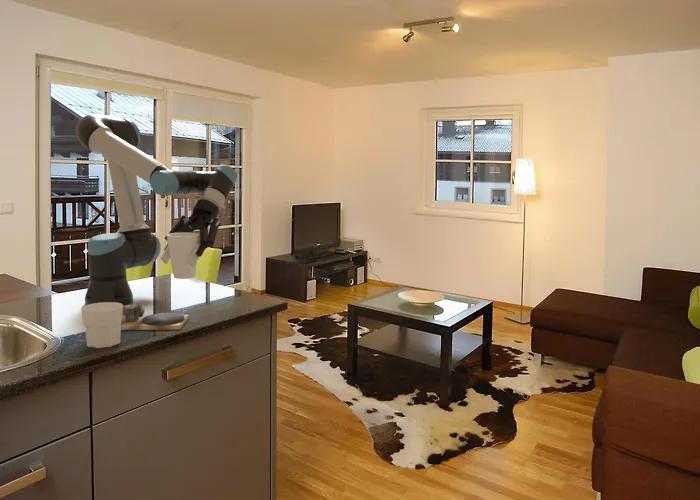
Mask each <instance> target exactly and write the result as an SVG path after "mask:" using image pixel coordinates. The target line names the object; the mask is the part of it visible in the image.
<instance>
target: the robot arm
mask: <svg viewBox="0 0 700 500" xmlns="http://www.w3.org/2000/svg"><path fill="white" fill-rule="evenodd" d="M75 134H76V138H77V140H78V142H79V143H80V144H81V145H82V146H83V147H84V148H85V149H87V150H89V152H90V151H91V152H92V153H94V154H96V155H99V154H100V155H101V157H102V158H104V159H105V160H106V161H107V164H108V168H109V169H108V170H109V175H110V181H111V185H112V191H113V196H114V197H113V198H114V201H115V207H116V213H117V216H118V217H117V218H118V225H119V228H118V229H117V231H116V232H110V233H102V234H97V235H94V236H92V237H90V238H89V240H88V243H87V258H88V261H87V262H88V275H89V282H88V286H87V290H86V293H85V296H84V304H85V305H89V304H94V303H103V302H115V303H121V304H122V305H123V306H127V305H128V304H129V305H130V304H131V303H133V301H134V295H133V292H132V289H131V287H130V285H129V282H128V280H127V279H128V278H127V277H128V276H127V270H128V269H133V268H138V267H144V266H145V267H146V266H147V265H151V264H153V263H154V262H156V260H157V259H158V257H159V256H160V253H161V241H160V238H159V237H158V236H157V235H156V234H155V233H152V229H151V226H149V225H148V224H147V223H146V222H145V215H144V209H143V204H142V199H141V193H140V188H139V184H138V178H139V179H142V180H144V181H145V182H146V183H148V184H150V188H151V189H152V191H153V192H154V193H155V194H156V195H159V196H168V197H169V196H173V195H175V196H176V195H197V194H199V195H200V196H199V198H198V200H196V201H197V202H196V203H195V205H194V207H193V209H192V214H191V215H190V216H185V215H183V214H182V216H181V217H180V219H179V221H177V223H176V224H175V225H174V226H173V228H172V229H171V230H169V232H168V233H167V234H170V233H181V232H191V233H194V232H195V231H199V244H197V245H196V247H195V249H194V250H193V252H192V254H191V256H190V258H189V260H188V263H189V264H190V265H191V266H192V267H194V266H195V264H196V262H198V260H199V258H201V257H202V256H203V254H204V252H205V251H206V249H208V248H210V249H211V248H213V247H214V244H215V240H216V237H217V232H218V229H219V227H220V226H221V225H222V223H221V221H220V220H219V219H218V218H217V217H218V215H219V214H220V211H221V209H222V207H223V206H224V204H225V202H226V201H227V198H228V197H229V195H230V194H231V192H232V190H233V188H234V187H235V185H236V183H237V179H238V174H237V172H236V170H235V169H234V168H233V167H231V166H229V165H227V164H220V165H218V166H217V167H216V168H215V171H203V170H202V171H199V170H174V169H171V168H170V167H168V166H167V165H165V164H163V163H162V162H160V161H159V160H157V159H155V158H153V157H152V156H150V155H148V154H146V153H145V152H144V151H142V150H140V149H139V148H138V147H139V146H140V143H141V140H142V135H141V131H140V128H139V127H138V125H137V123H135V122H134V121H132V120H131V119H130V118H125V117H122V116H111V115H104V114H102V115H101V114H96V113H92V114H87V115H86V116H83V117H82V118H81V119H79V121H78V122H77V123H76V128H75ZM164 239H165V240H166V242H167V235H166V236H165V237H164ZM160 260H161V261H162V263H164V264H168V263H169V261H170V260H171V258H170V252H169V246H168V243H167V244H166V245H165V247H164V248H163V253H162V255H161V256H160ZM85 305H84V306H85Z"/></svg>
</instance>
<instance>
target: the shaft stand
mask: <svg viewBox="0 0 700 500" xmlns="http://www.w3.org/2000/svg"><path fill="white" fill-rule="evenodd" d="M144 313H145V305H144V304H143V303H138V304H136V303H134V304H131V303H129V305H123V310H122V321H121V331H135V330H136V331H140V330H142V331H144V330H145V331H151V330H158V331H159V330H162V331H163V330H173V331H174V330H181V329H182V327H183V326H184V325H185V323H187V321H188V319H189V314H181V313H177V312H161V313H153V314H144Z"/></svg>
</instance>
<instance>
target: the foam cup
mask: <svg viewBox="0 0 700 500" xmlns="http://www.w3.org/2000/svg"><path fill="white" fill-rule="evenodd" d="M166 236H167V241H166V243H167V244H168V246H169V252H170V262H171V268H172V273H173V274H172V275H173V278H174V279H177V280H180V279H181V280H186V279H187V280H189V279H193V278H195V277H196V275H197V274H196V273H197V262H198V261H197V262H196V264H195V266H194V267H192V266H191V265H190V264H189V263H188V260H189V258H190V256H191V254H192V252H193V250H194V249H195V247H196V245H197V244H200V243H199V242H200V233H199V232H181V233H170V234H168V233H167V234H166Z"/></svg>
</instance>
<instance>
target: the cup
mask: <svg viewBox="0 0 700 500" xmlns="http://www.w3.org/2000/svg"><path fill="white" fill-rule="evenodd" d="M123 306H124V305H122V304H121V303H115V302H103V303H94V304H89V305H83V306H81V308H80V310H81V311H80V312H81V317H82V321H83V327H84V331H85V339H86V347H87V348H89V347H90V348H96V349H100V348H101V349H102V348H106V347H107V348H111V347H112V346H115V345H118V344H121V333H122V330H121V321H122V310H123Z"/></svg>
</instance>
